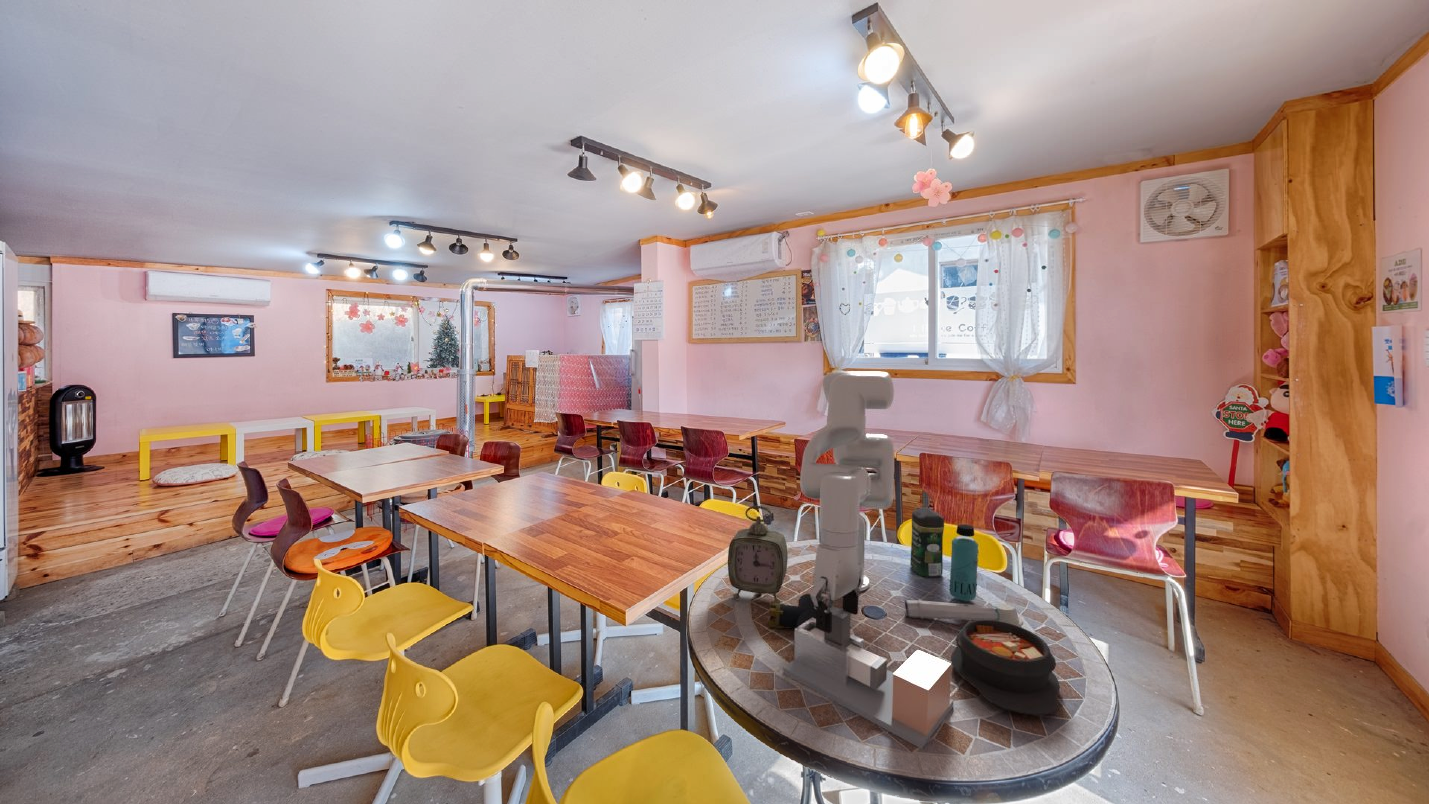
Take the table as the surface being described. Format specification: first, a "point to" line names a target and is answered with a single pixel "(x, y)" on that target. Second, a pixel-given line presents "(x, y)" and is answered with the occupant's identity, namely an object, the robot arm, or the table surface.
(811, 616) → the pipe connector
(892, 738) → the table surface
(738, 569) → the tabletop clock
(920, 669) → the socket block
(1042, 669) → the casserole
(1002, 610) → the electric cleaning brush
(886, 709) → the base board
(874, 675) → the sliding latch bolt
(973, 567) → the beverage bottle
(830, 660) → the outer sleeve
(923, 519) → the coffee jar
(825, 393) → the robot arm
